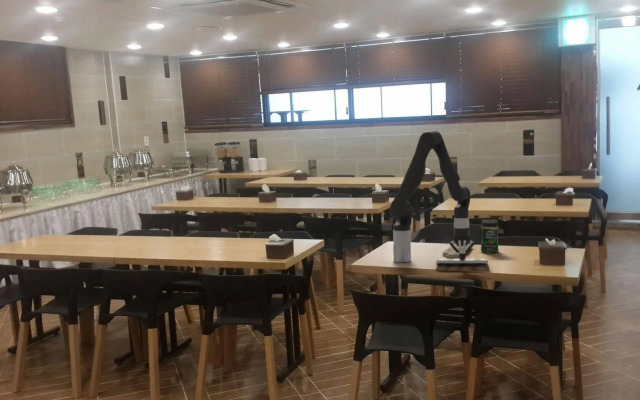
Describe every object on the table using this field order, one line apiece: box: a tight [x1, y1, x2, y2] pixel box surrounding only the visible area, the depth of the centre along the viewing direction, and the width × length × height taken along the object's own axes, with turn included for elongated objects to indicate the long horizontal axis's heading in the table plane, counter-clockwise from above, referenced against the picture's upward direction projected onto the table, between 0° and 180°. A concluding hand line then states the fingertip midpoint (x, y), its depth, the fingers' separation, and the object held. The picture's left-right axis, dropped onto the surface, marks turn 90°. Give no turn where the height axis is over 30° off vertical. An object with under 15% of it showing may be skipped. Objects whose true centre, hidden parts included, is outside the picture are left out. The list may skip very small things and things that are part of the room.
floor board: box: [435, 258, 490, 272], centre depth 316 cm, size 26×16×3 cm, turn 80°
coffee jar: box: [480, 219, 500, 254], centre depth 347 cm, size 10×8×19 cm
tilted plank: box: [436, 259, 489, 264], centre depth 313 cm, size 25×8×1 cm, turn 80°
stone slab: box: [442, 243, 470, 259], centre depth 349 cm, size 12×4×30 cm
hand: (462, 260), depth 309 cm, fingers closed
